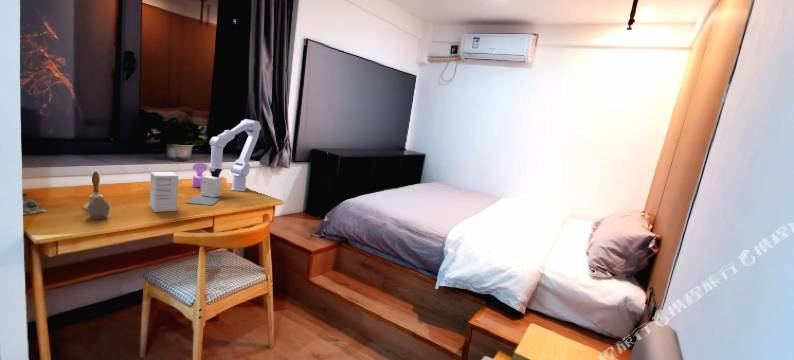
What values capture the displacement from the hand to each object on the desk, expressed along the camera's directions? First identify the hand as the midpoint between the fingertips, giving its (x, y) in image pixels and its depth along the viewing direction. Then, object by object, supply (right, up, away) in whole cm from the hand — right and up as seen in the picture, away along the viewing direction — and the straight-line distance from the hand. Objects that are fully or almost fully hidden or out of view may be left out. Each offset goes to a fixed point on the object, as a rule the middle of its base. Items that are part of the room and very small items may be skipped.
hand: (215, 181), depth 200 cm
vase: (-17, -15, -58) cm, 62 cm away
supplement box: (-5, -13, -36) cm, 39 cm away
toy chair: (-12, -4, +7) cm, 14 cm away
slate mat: (+2, -10, -16) cm, 19 cm away
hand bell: (-27, -11, -47) cm, 56 cm away
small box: (0, -8, -6) cm, 10 cm away
